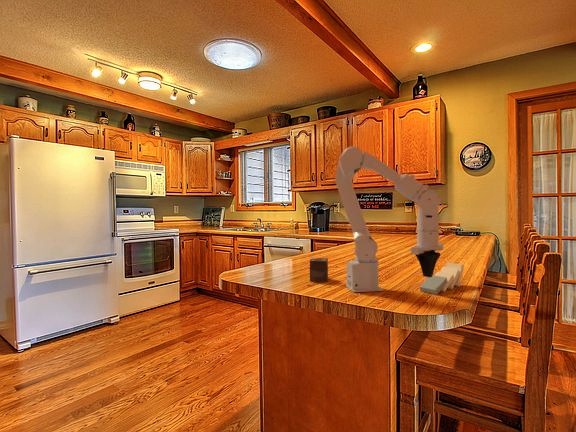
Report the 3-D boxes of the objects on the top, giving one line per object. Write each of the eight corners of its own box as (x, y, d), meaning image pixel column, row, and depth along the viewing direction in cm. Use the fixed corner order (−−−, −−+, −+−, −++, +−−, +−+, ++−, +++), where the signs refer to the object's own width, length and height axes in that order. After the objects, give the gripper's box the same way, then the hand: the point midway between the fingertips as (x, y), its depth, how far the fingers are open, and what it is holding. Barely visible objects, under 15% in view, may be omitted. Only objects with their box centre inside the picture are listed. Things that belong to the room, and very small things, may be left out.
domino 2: (443, 288, 93) (453, 274, 96) (427, 284, 97) (437, 271, 100) (444, 292, 93) (454, 278, 97) (428, 288, 97) (438, 275, 101)
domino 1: (435, 290, 90) (446, 277, 94) (419, 286, 94) (430, 274, 98) (436, 294, 91) (447, 282, 94) (420, 291, 95) (431, 279, 98)
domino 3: (450, 286, 96) (458, 269, 99) (434, 283, 100) (443, 266, 103) (452, 289, 96) (460, 272, 99) (436, 286, 100) (444, 269, 103)
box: (327, 282, 107) (326, 261, 106) (309, 281, 108) (309, 260, 108) (328, 278, 113) (328, 258, 112) (311, 277, 114) (311, 257, 114)
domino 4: (457, 285, 98) (462, 264, 100) (441, 282, 102) (446, 262, 104) (459, 286, 99) (464, 266, 101) (443, 283, 103) (448, 264, 105)
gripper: (427, 232, 84) (427, 282, 85) (453, 230, 93) (453, 275, 93) (404, 231, 90) (404, 278, 90) (430, 228, 99) (430, 271, 99)
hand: (427, 276), depth 92 cm, fingers closed
